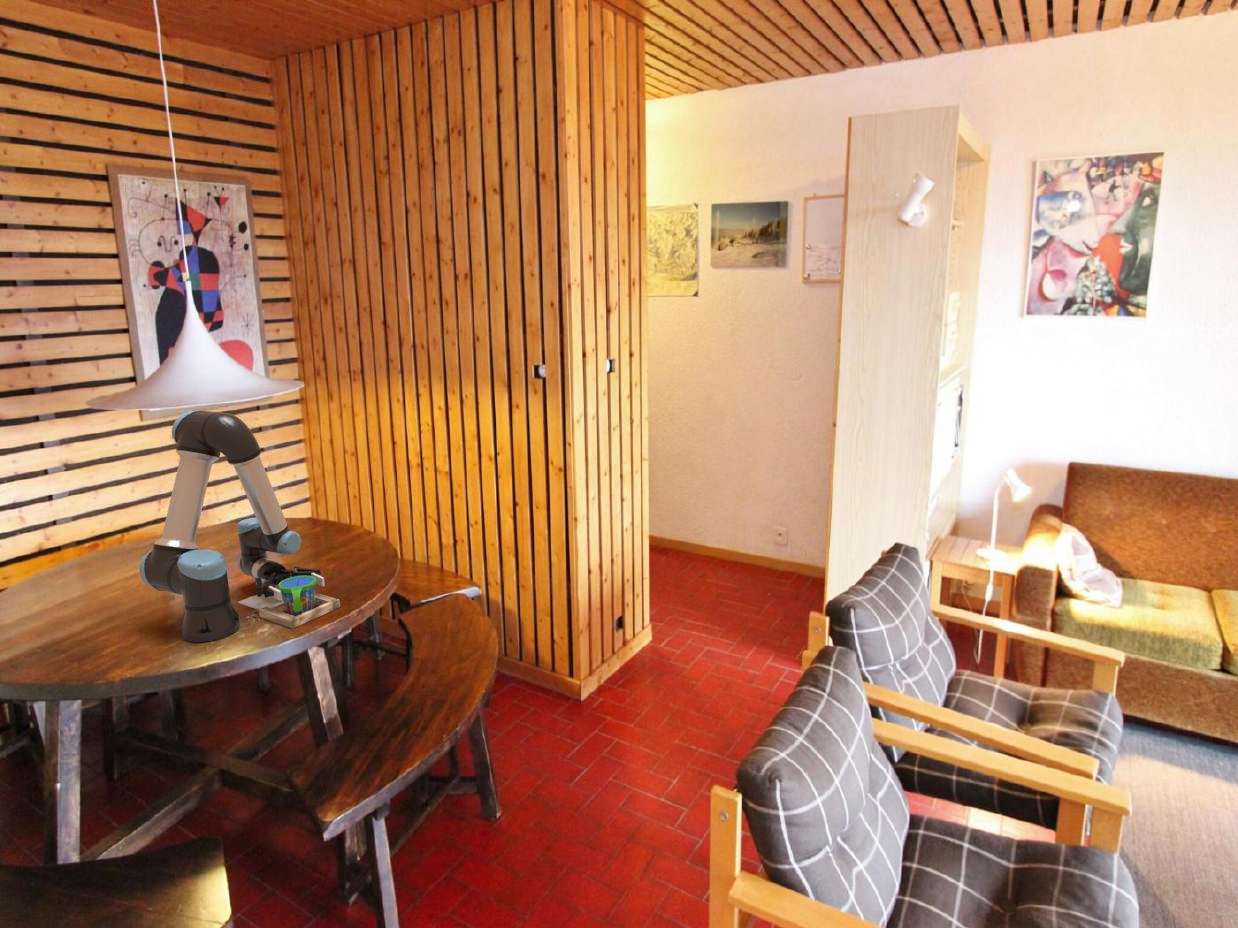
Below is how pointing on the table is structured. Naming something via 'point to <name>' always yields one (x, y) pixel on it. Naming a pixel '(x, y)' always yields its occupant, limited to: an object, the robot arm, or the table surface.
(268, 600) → the grey mat
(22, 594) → the table surface
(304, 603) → the snack cup
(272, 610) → the wooden frame
